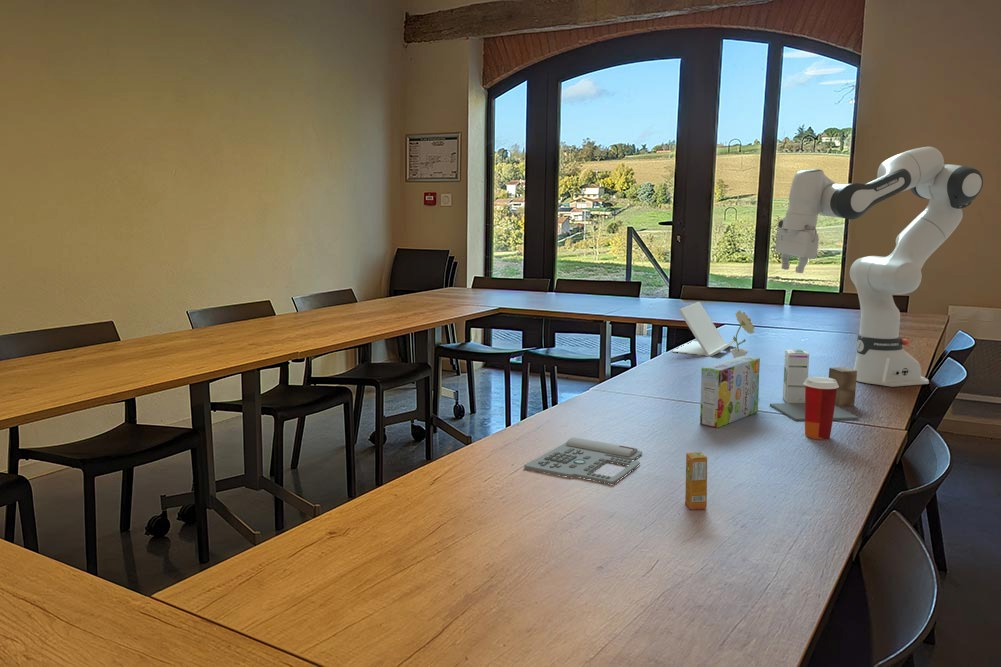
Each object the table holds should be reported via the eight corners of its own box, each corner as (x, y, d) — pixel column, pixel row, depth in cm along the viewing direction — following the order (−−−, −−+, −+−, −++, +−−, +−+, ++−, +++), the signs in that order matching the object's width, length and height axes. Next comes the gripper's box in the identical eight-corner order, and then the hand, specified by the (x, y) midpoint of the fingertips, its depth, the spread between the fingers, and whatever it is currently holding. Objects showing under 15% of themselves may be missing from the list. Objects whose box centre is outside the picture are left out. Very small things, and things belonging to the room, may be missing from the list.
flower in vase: (759, 403, 212) (765, 314, 208) (717, 400, 214) (722, 313, 210) (754, 391, 224) (759, 308, 220) (714, 389, 227) (718, 307, 223)
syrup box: (807, 404, 210) (810, 353, 208) (784, 403, 212) (788, 352, 209) (803, 399, 216) (806, 349, 213) (781, 398, 217) (784, 348, 215)
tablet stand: (671, 353, 284) (673, 308, 281) (690, 342, 305) (692, 301, 302) (719, 358, 275) (722, 311, 272) (736, 347, 296) (738, 304, 293)
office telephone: (573, 432, 178) (654, 446, 168) (573, 443, 178) (654, 457, 168) (523, 459, 159) (611, 476, 148) (523, 470, 159) (611, 489, 149)
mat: (828, 404, 210) (828, 402, 210) (858, 419, 196) (858, 417, 196) (769, 405, 209) (769, 403, 209) (795, 421, 194) (795, 418, 194)
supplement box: (682, 503, 141) (685, 451, 139) (700, 502, 141) (703, 451, 139) (688, 510, 137) (691, 457, 136) (707, 509, 138) (709, 457, 136)
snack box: (739, 408, 206) (742, 354, 203) (758, 412, 202) (762, 357, 200) (697, 424, 191) (700, 366, 189) (717, 429, 187) (721, 369, 185)
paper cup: (833, 433, 184) (837, 377, 181) (836, 442, 177) (840, 384, 174) (798, 430, 186) (802, 375, 184) (800, 439, 179) (804, 381, 177)
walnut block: (841, 401, 214) (844, 366, 212) (854, 405, 209) (857, 370, 207) (826, 402, 213) (829, 367, 211) (838, 407, 208) (841, 371, 206)
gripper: (827, 227, 213) (818, 276, 215) (795, 224, 233) (787, 268, 235) (806, 225, 212) (797, 274, 215) (775, 221, 232) (767, 266, 235)
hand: (791, 271), depth 225 cm, fingers open, 8 cm apart
